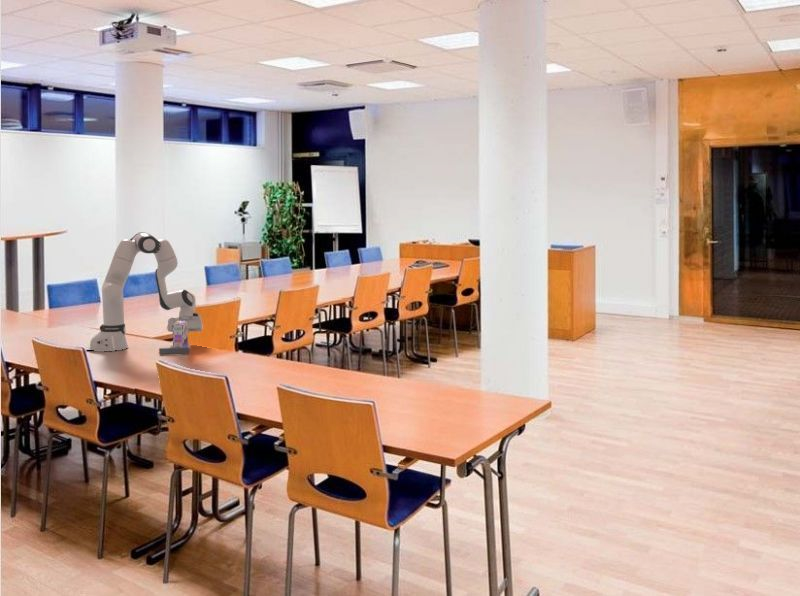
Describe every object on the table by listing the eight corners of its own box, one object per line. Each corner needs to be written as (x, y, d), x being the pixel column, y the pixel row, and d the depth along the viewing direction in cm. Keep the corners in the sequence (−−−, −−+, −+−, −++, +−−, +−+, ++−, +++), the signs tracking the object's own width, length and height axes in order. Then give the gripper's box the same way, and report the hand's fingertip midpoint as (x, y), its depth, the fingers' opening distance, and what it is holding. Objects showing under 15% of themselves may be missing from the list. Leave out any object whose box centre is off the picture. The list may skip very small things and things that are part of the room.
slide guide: (159, 354, 407) (159, 348, 407) (166, 348, 426) (166, 342, 425) (189, 354, 409) (188, 348, 408) (195, 347, 427) (194, 341, 427)
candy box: (183, 353, 412) (182, 324, 409) (173, 353, 411) (171, 324, 409) (188, 348, 425) (187, 320, 423) (178, 348, 425) (177, 320, 422)
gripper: (167, 314, 439) (164, 333, 431) (202, 314, 441) (200, 333, 433) (169, 320, 444) (166, 339, 436) (204, 320, 446) (202, 339, 438)
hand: (183, 336), depth 434 cm, fingers closed
